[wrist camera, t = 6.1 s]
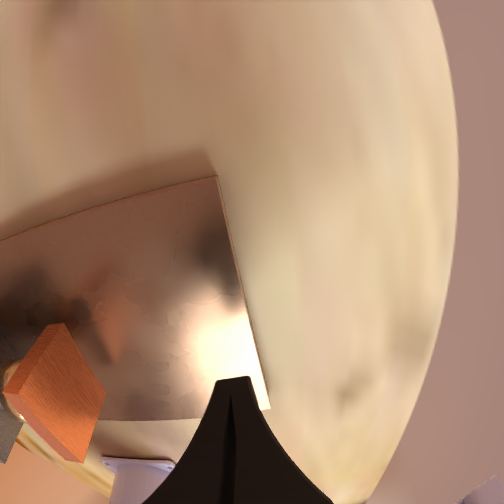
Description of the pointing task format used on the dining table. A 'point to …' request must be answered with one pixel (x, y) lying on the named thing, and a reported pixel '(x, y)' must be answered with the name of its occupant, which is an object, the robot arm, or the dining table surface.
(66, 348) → the shaft
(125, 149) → the dining table surface
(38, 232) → the bearing base
